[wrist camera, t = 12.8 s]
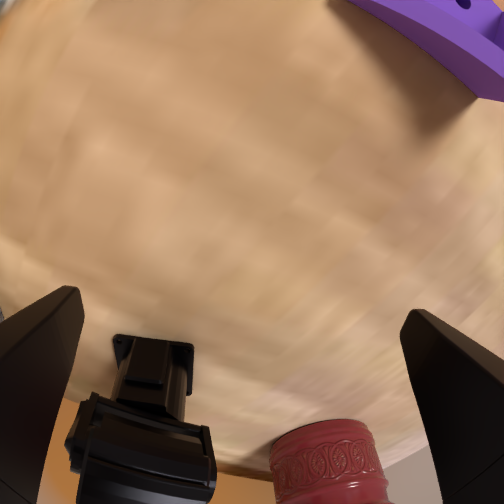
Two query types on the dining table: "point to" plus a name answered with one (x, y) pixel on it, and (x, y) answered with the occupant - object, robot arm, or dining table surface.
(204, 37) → the dining table surface
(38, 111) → the dining table surface
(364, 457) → the canister
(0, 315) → the tray
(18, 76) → the dining table surface
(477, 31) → the bracket
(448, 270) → the dining table surface
